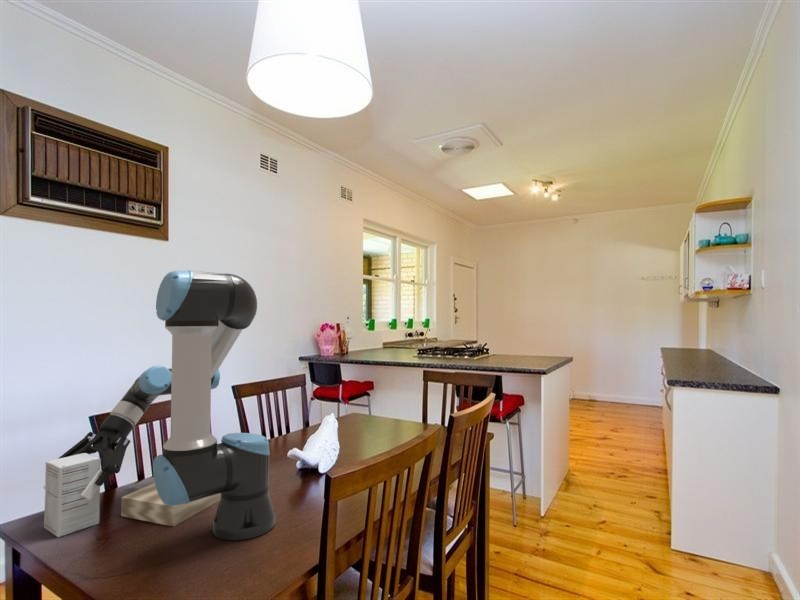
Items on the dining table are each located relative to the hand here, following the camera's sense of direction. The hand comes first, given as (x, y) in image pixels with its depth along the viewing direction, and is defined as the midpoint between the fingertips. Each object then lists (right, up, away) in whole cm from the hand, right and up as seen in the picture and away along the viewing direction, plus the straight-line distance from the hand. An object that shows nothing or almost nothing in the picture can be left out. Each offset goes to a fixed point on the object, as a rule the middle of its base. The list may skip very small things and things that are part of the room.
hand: (65, 494), depth 112 cm
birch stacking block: (+21, -9, +12) cm, 26 cm away
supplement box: (+1, -9, +1) cm, 9 cm away
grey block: (+8, -10, +22) cm, 26 cm away
